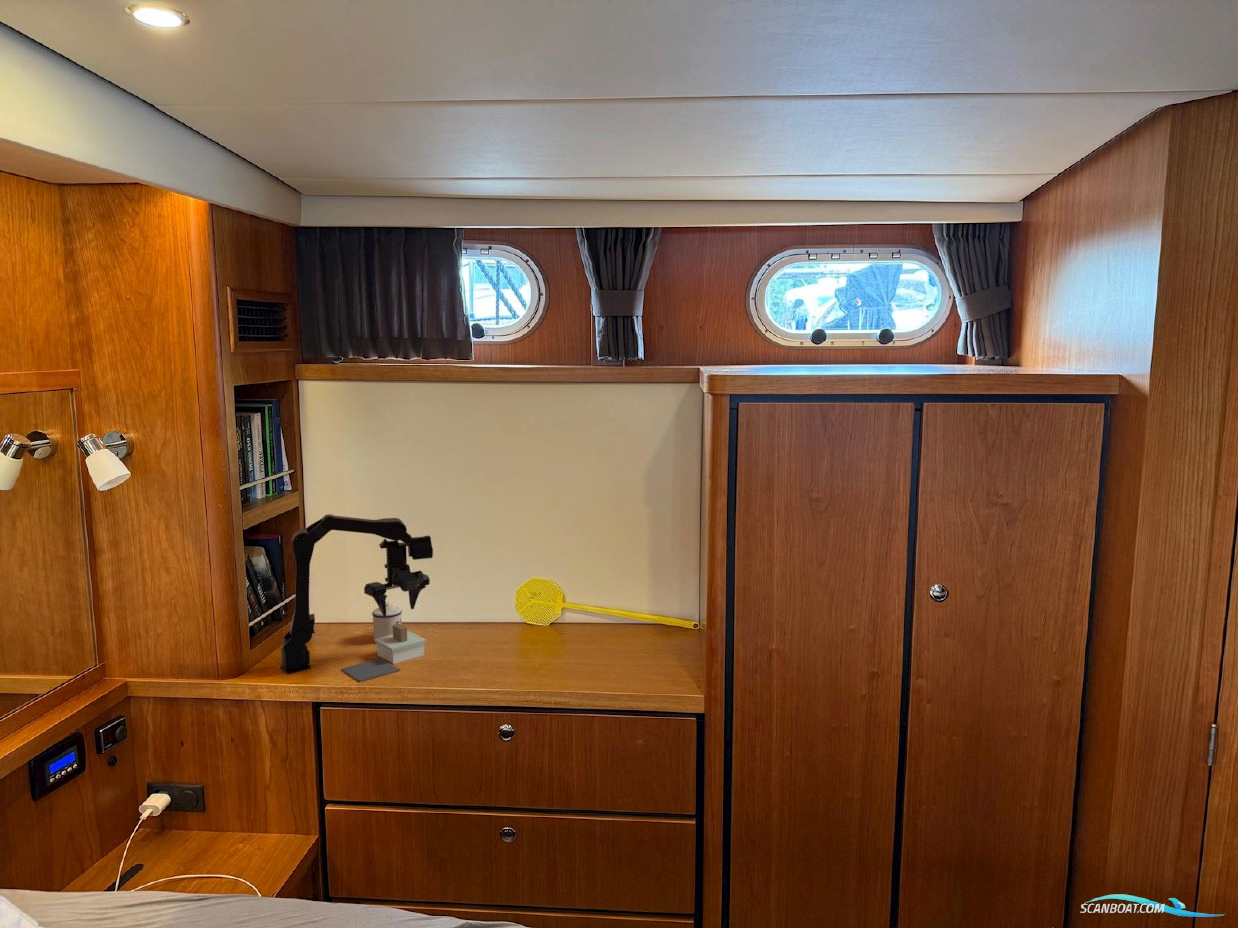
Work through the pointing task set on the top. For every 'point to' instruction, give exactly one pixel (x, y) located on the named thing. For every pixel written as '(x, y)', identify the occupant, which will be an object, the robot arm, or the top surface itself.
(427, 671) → the top surface
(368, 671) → the mat
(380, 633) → the teacup with lid
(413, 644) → the lid
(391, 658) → the dish
